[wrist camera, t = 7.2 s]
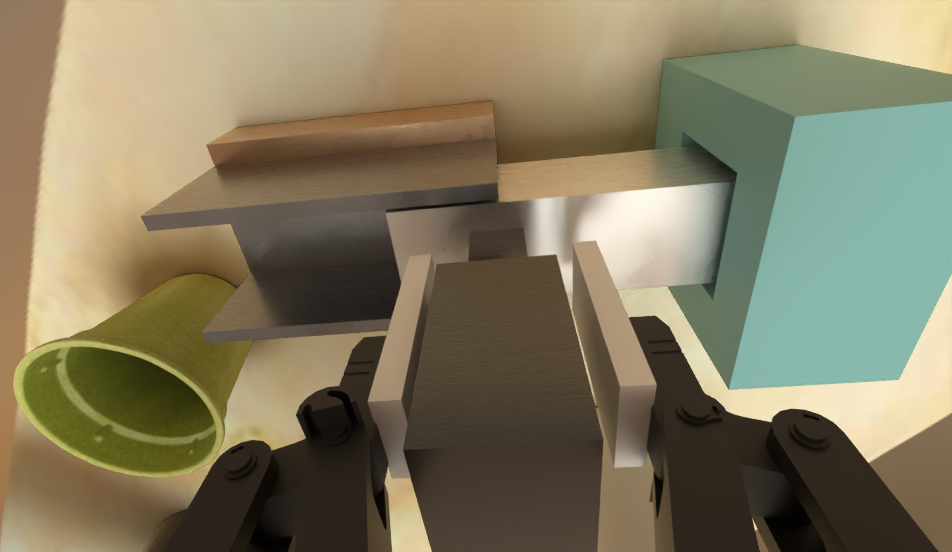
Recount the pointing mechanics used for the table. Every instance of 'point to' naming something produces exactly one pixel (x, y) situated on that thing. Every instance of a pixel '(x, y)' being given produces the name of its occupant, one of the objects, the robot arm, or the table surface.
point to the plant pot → (139, 383)
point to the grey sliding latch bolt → (538, 335)
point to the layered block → (329, 211)
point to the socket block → (817, 210)
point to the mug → (625, 505)
